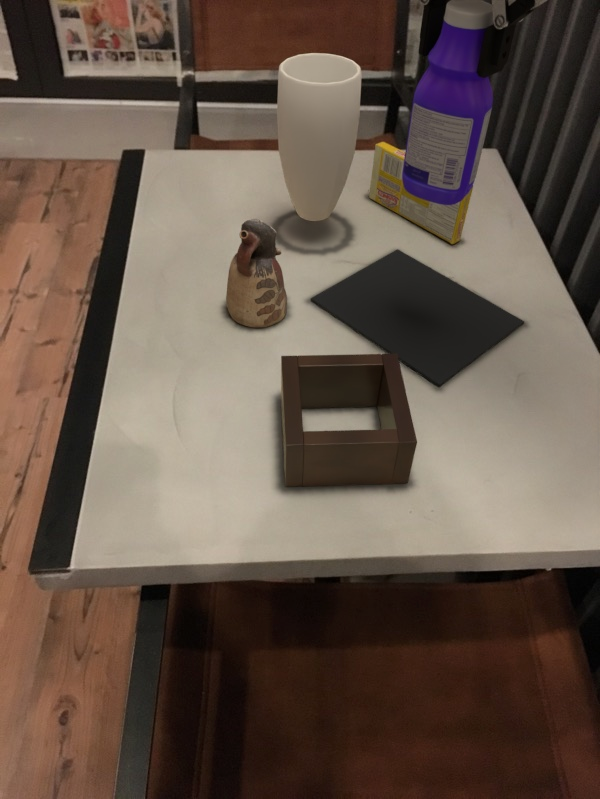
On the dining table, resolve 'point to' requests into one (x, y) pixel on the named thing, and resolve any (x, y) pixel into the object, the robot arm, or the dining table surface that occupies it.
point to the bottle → (450, 109)
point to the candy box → (413, 197)
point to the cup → (317, 128)
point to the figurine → (256, 278)
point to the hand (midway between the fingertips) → (460, 60)
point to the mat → (418, 315)
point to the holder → (347, 449)
